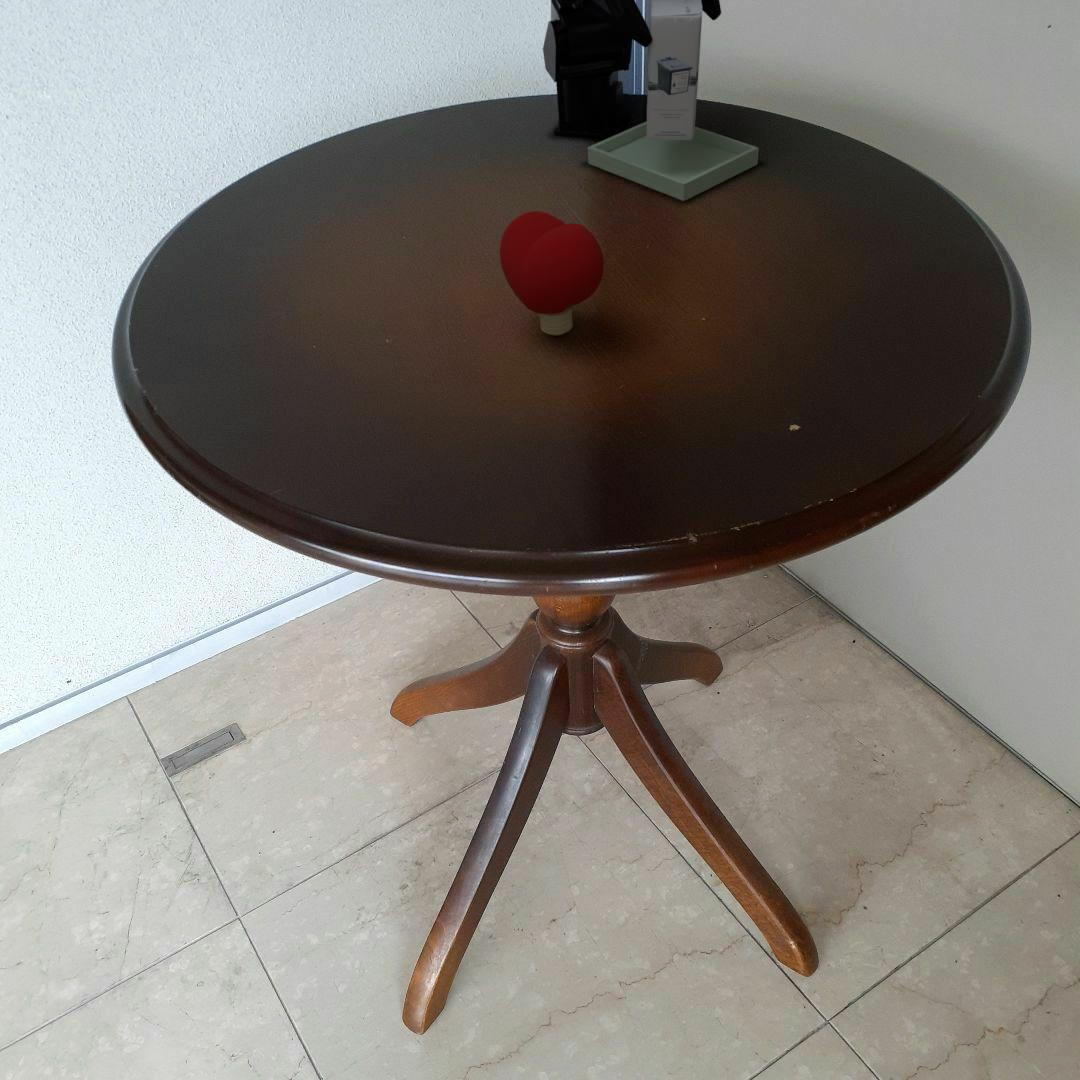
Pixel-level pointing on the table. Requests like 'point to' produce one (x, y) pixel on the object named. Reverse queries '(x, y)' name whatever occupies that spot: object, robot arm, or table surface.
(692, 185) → the tray
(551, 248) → the red heart on stand
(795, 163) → the table surface
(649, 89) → the ink box
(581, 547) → the table surface
